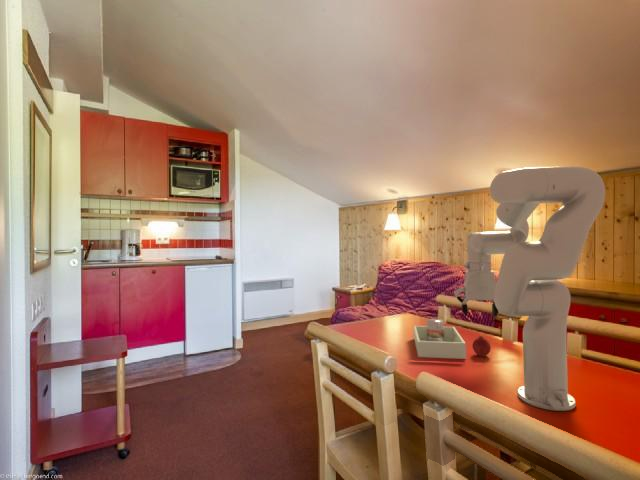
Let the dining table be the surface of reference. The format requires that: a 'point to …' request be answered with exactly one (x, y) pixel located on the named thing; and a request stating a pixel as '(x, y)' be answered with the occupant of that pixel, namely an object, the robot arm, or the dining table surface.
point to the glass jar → (435, 330)
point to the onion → (481, 346)
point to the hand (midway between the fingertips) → (479, 315)
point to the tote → (440, 344)
